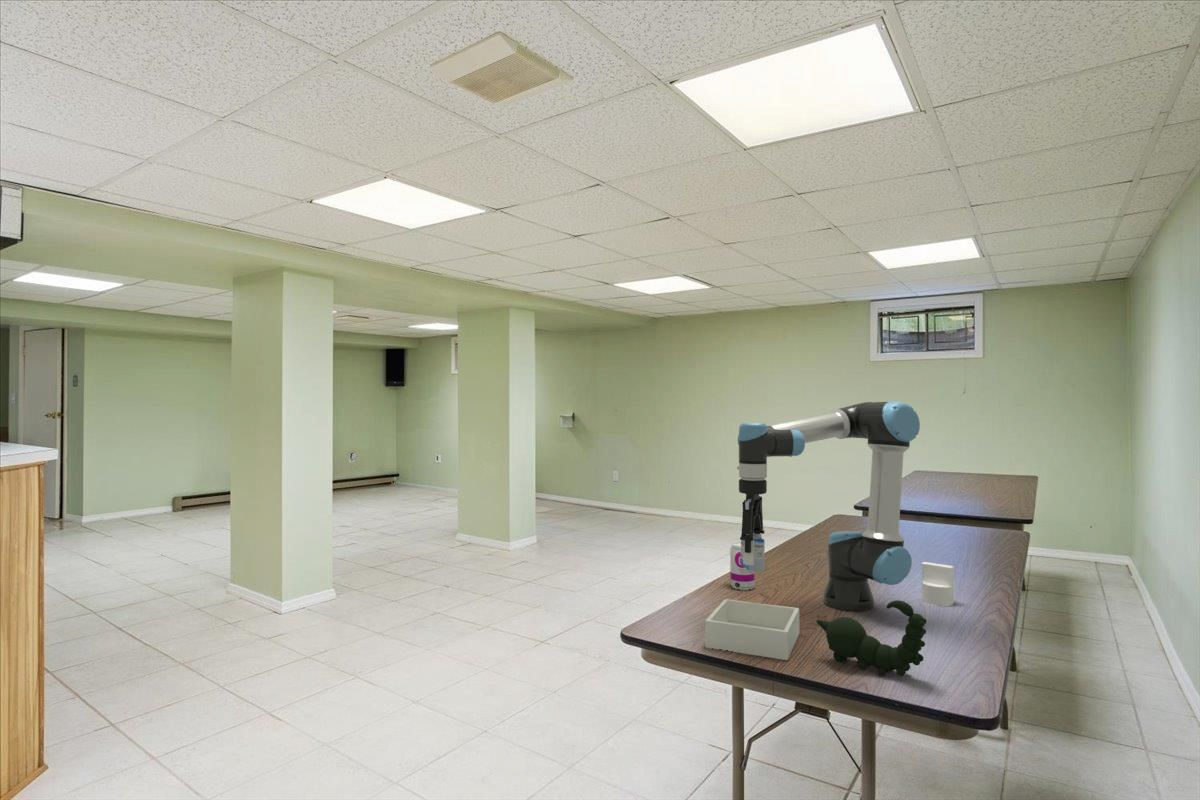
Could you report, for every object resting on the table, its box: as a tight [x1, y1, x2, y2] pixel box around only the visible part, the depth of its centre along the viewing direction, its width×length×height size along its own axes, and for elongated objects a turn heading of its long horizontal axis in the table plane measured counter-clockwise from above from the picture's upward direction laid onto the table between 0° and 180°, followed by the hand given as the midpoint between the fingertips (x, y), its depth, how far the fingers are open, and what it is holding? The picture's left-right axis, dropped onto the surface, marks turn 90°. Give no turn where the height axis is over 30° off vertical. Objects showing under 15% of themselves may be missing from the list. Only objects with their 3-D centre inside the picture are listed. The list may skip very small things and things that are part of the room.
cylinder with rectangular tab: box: [921, 561, 955, 607], centre depth 208 cm, size 9×9×12 cm
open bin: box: [704, 598, 800, 661], centre depth 175 cm, size 21×21×7 cm
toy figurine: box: [815, 599, 928, 677], centre depth 156 cm, size 9×19×25 cm
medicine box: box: [740, 533, 766, 572], centre depth 178 cm, size 8×4×9 cm, turn 4°
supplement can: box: [729, 542, 756, 591], centre depth 226 cm, size 8×8×15 cm
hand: (752, 560), depth 178 cm, fingers closed on medicine box, 9 cm apart
